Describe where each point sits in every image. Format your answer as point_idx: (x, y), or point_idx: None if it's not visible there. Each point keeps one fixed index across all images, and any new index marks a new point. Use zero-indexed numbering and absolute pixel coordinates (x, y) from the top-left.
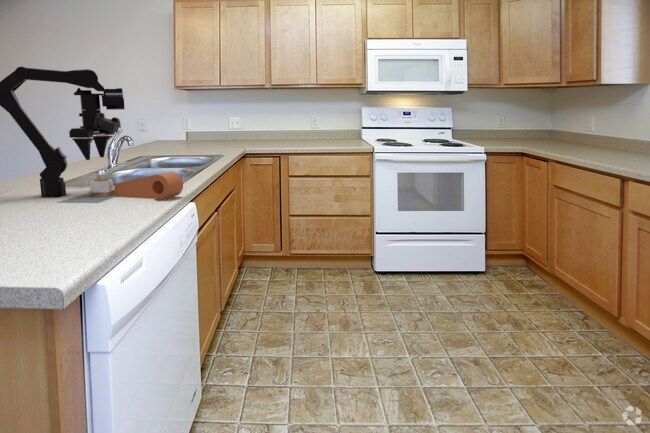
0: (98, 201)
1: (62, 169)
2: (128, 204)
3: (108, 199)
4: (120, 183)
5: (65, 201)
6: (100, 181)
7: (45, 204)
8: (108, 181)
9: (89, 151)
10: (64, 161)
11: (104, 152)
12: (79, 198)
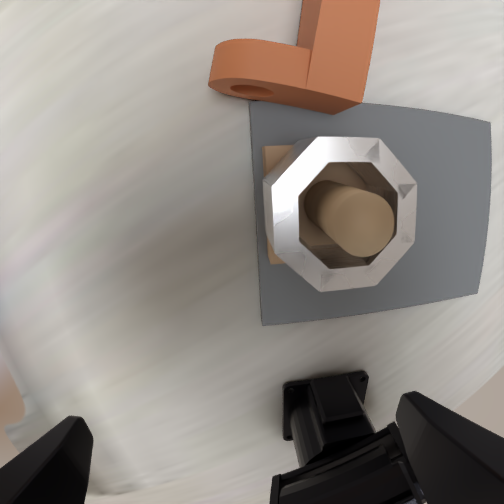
0: (466, 134)
1: (388, 456)
2: (453, 11)
3: (420, 109)
4: (369, 54)
5: (464, 276)
6: (415, 182)
7: (463, 329)
8: (377, 140)
9: (476, 438)
10: (409, 483)
11: (43, 443)
12: (404, 266)
